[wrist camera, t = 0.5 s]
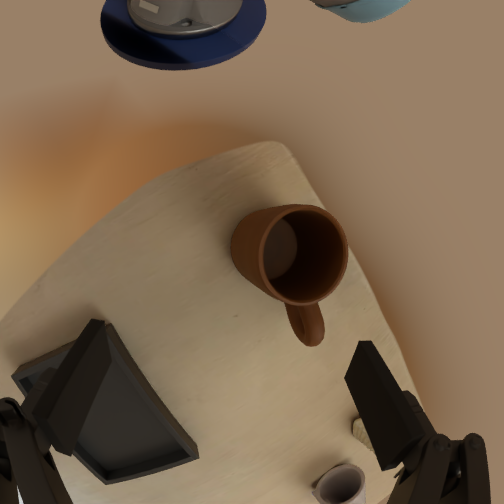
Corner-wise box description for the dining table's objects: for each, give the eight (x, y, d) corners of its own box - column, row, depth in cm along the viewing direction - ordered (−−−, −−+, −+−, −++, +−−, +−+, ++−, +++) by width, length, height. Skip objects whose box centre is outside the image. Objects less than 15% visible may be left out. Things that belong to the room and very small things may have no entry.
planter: (397, 499, 38) (374, 483, 29) (367, 523, 37) (329, 516, 28) (378, 481, 45) (347, 455, 37) (350, 503, 44) (306, 486, 35)
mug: (312, 309, 32) (361, 337, 22) (248, 331, 30) (280, 372, 21) (291, 202, 30) (340, 194, 21) (220, 218, 28) (244, 215, 19)
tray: (111, 322, 26) (106, 331, 23) (197, 444, 29) (199, 458, 27) (19, 366, 23) (10, 376, 20) (107, 472, 26) (105, 485, 24)
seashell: (382, 452, 36) (366, 472, 30) (355, 419, 41) (335, 434, 35) (419, 425, 33) (409, 445, 28) (390, 390, 39) (375, 404, 33)
